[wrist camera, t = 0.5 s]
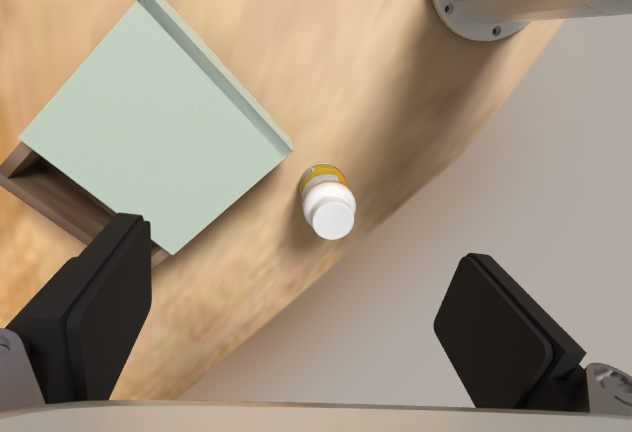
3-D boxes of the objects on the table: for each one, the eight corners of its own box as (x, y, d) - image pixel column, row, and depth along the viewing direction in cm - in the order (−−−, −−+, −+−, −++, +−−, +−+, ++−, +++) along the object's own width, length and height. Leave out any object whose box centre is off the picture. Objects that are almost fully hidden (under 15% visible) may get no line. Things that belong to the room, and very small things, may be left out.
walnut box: (121, 56, 34) (92, 60, 28) (242, 174, 40) (237, 195, 35) (31, 157, 37) (-11, 178, 32) (156, 251, 43) (139, 281, 38)
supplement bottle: (344, 202, 43) (361, 244, 34) (300, 205, 43) (306, 248, 34) (344, 160, 40) (362, 193, 32) (298, 163, 40) (303, 197, 31)
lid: (161, -5, 29) (145, -10, 25) (291, 139, 35) (293, 151, 32) (46, 127, 33) (17, 138, 29) (182, 235, 39) (172, 255, 36)
